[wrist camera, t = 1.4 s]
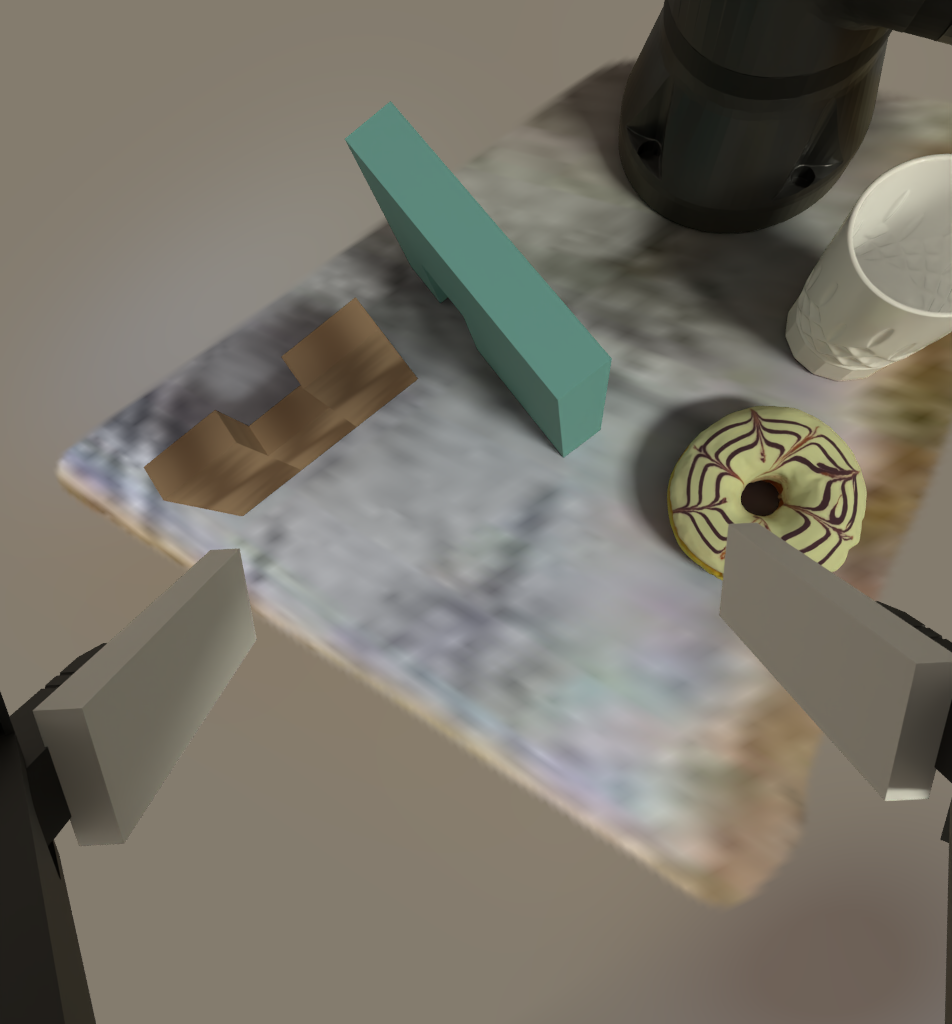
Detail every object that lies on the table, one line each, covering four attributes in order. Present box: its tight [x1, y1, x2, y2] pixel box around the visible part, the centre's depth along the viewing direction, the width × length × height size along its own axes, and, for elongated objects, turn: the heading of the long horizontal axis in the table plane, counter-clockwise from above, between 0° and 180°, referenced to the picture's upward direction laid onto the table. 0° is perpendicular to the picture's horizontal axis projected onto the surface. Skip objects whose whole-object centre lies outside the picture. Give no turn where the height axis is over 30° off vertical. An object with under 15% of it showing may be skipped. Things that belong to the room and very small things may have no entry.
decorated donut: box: [667, 406, 867, 580], centre depth 33 cm, size 10×11×4 cm
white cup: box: [785, 154, 952, 381], centre depth 31 cm, size 8×8×10 cm
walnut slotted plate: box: [144, 297, 418, 516], centre depth 37 cm, size 16×2×8 cm, turn 127°
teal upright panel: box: [345, 102, 612, 458], centre depth 33 cm, size 18×3×12 cm, turn 37°
